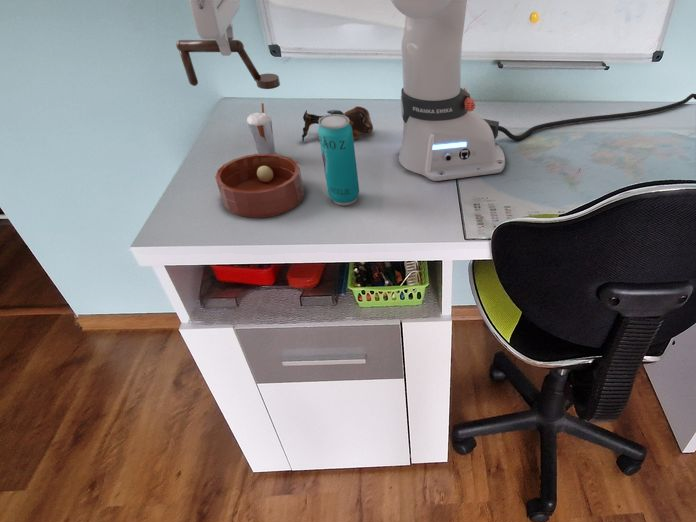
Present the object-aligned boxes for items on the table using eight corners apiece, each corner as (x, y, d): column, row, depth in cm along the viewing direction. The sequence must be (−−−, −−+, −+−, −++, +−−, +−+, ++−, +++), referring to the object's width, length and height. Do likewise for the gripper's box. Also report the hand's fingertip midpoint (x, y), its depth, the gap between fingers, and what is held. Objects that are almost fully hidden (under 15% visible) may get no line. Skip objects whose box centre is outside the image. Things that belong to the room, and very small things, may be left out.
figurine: (374, 141, 119) (371, 113, 115) (302, 143, 117) (297, 115, 113) (373, 126, 124) (370, 99, 120) (304, 128, 122) (299, 101, 118)
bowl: (306, 176, 107) (302, 152, 104) (301, 216, 97) (295, 191, 94) (230, 178, 106) (223, 154, 102) (216, 219, 96) (208, 194, 92)
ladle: (281, 80, 108) (272, 36, 102) (278, 89, 105) (269, 44, 99) (191, 81, 106) (177, 36, 100) (186, 90, 103) (171, 44, 97)
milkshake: (284, 152, 114) (273, 104, 107) (275, 164, 110) (264, 115, 103) (263, 150, 114) (251, 102, 107) (253, 162, 110) (240, 113, 103)
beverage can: (330, 191, 104) (318, 113, 93) (361, 191, 104) (352, 113, 93) (328, 207, 100) (314, 127, 89) (359, 207, 100) (349, 127, 89)
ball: (275, 177, 105) (272, 162, 103) (273, 184, 103) (270, 170, 101) (259, 177, 105) (256, 163, 103) (257, 185, 103) (254, 170, 101)
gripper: (212, -23, 84) (236, 70, 94) (235, -50, 99) (254, 34, 108) (170, -24, 84) (198, 71, 94) (199, -50, 98) (221, 34, 108)
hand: (228, 51), depth 101 cm, fingers closed on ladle, 2 cm apart
